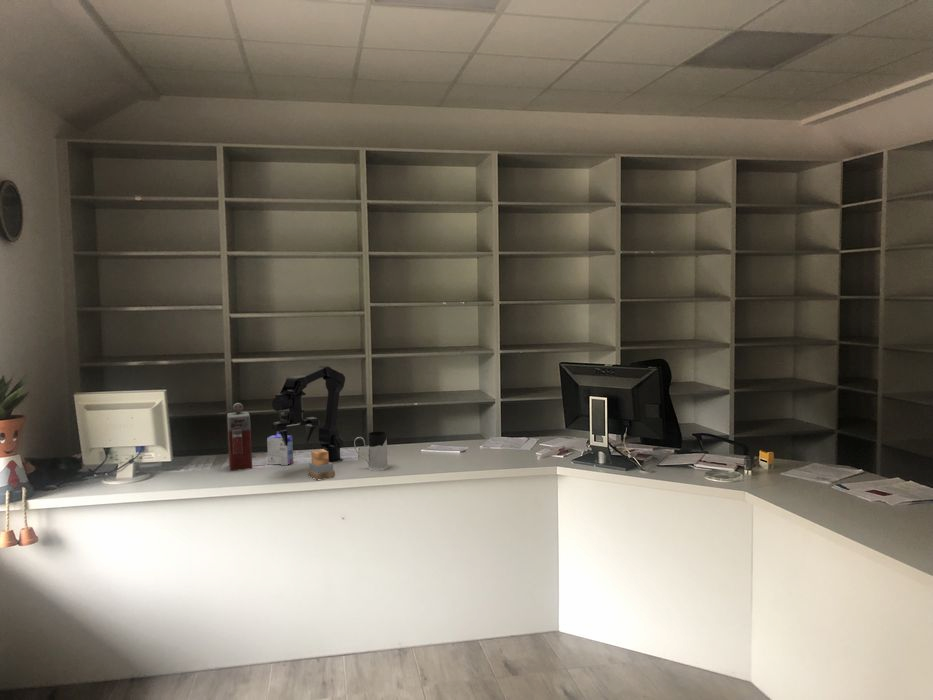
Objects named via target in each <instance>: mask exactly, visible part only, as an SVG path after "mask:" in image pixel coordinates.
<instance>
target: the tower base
mask: <svg viewBox="0 0 933 700" xmlns="http://www.w3.org/2000/svg"><path fill="white" fill-rule="evenodd" d="M307 474H308V475H307V476H308V477H309V476H310V477H309V478H311V477H312V478H311V479H313V478H315V479H316V480H315V479H314V480H315V481H319V480H318V479H322V480H324V479H323V478H327V479H330V478H329V477H332V478H335V477H336V472H335V470H334V469H333V471H329V472H324V473H319V474H317V473H314V472H312V471H310V469H308V470H307ZM334 476H335V477H334Z"/></svg>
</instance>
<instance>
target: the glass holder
mask: <svg viewBox="0 0 933 700" xmlns="http://www.w3.org/2000/svg"><path fill="white" fill-rule="evenodd" d="M367 435H368V445H366V441H365V439H364V437H362V436H358V437H356V438H355V439H354V442H353V444H354V449H355V452H356V454H357V455H358V456H359V457H361V458H362V459H363V460H365V461H366V462H367V464H368V467H367V469H368V468H369V469H372V470H371V471H374V470H378V471H382V470H381V469H385V468H388V469H389V465H388V443H387V442H388V441H387V432H386V431H372V432H371V431H370V432H369V433H367ZM357 439H362V441H363V445H364V447H366V448H368V459H366V458H365V457H364V456H363V455H361V454H360V453H359V452H358V449H357V447H356V441H357ZM369 469H368V470H369ZM385 470H386V469H385Z"/></svg>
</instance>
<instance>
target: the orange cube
mask: <svg viewBox="0 0 933 700" xmlns="http://www.w3.org/2000/svg"><path fill="white" fill-rule="evenodd" d="M310 453H311V463H312V464H314V465H317V466H319V465H324V464H328V463H329V458H328V451H326V450H324V449H316V450H311V451H310Z"/></svg>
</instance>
